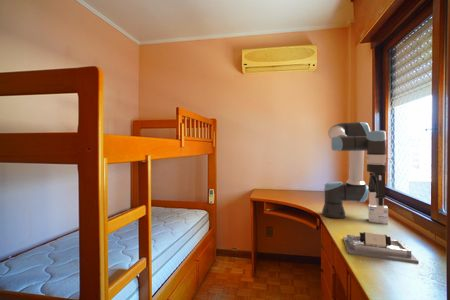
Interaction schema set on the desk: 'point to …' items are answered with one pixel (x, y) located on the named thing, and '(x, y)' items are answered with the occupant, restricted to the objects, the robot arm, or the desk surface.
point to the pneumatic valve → (375, 239)
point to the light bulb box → (378, 215)
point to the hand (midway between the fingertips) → (376, 208)
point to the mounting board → (379, 254)
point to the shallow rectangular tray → (394, 249)
